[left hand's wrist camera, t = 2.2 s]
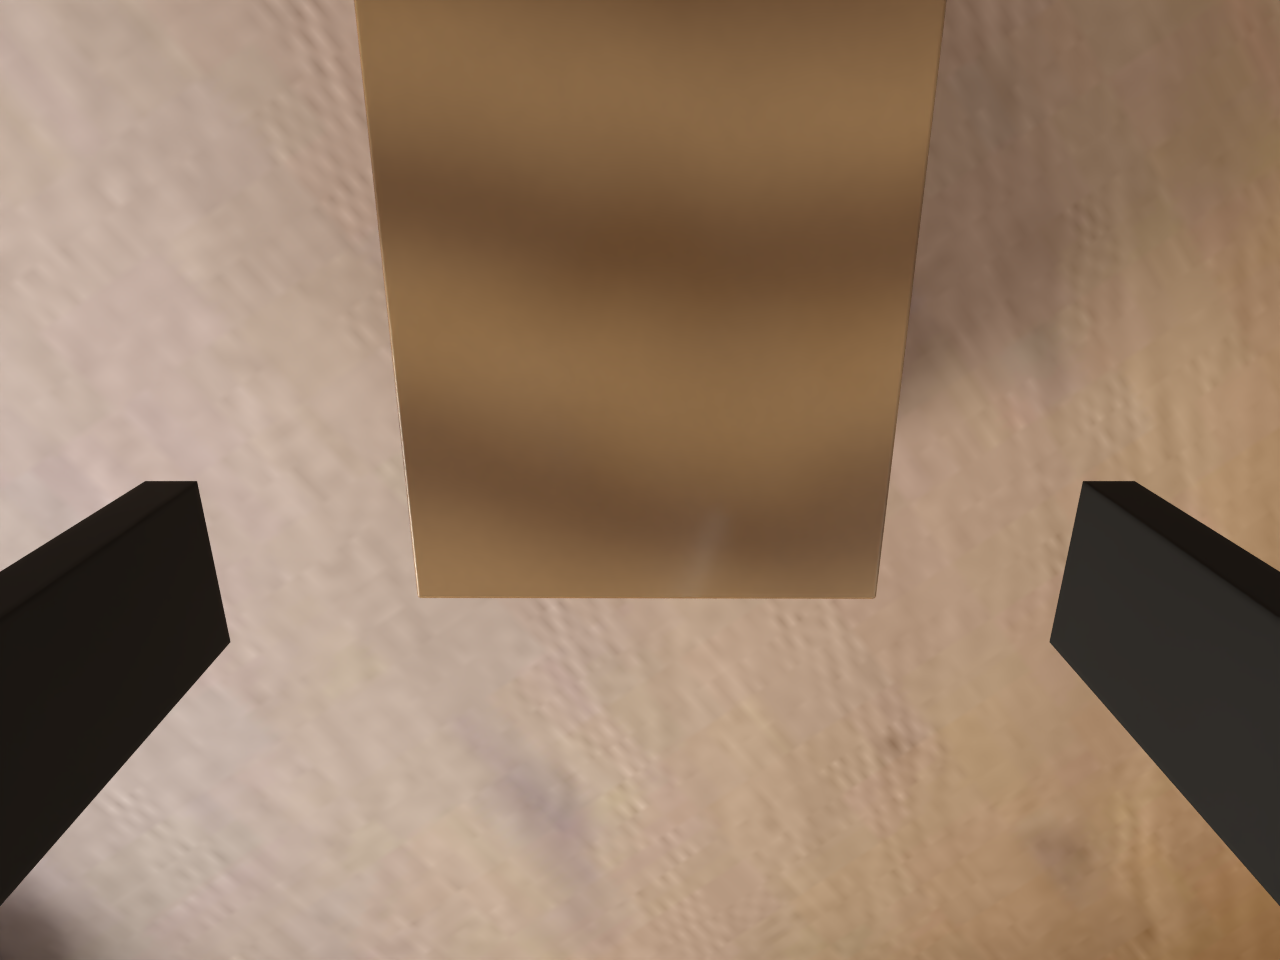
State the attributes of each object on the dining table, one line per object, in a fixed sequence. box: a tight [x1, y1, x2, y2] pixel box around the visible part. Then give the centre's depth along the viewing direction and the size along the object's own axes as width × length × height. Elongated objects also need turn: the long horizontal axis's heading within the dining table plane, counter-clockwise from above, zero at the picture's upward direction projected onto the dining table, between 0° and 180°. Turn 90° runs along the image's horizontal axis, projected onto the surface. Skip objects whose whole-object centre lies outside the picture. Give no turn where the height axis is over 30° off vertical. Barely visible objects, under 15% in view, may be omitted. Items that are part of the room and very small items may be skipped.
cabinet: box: [354, 0, 946, 599], centre depth 22 cm, size 18×12×11 cm, turn 0°
